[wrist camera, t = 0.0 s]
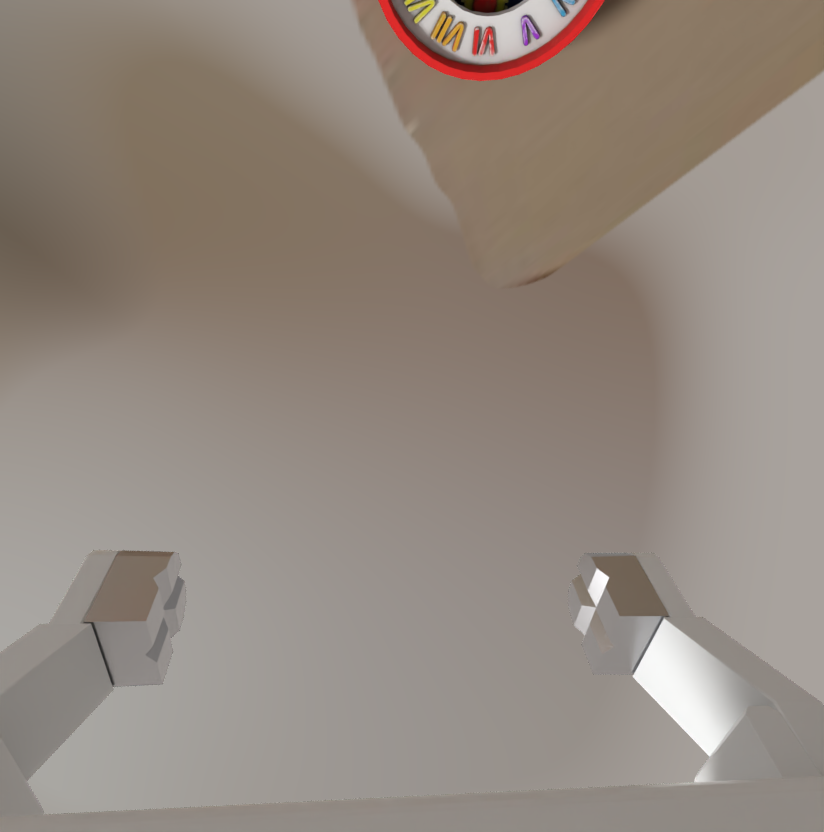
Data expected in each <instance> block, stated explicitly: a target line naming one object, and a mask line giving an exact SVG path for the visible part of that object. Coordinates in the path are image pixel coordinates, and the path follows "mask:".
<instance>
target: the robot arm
mask: <svg viewBox="0 0 824 832" xmlns="http://www.w3.org/2000/svg"><path fill="white" fill-rule="evenodd" d="M577 567H578V569H579V571H580V575H578V576H577V577H576V578H574V579H573V580H572V581H571V584H570V587H569V591H568V606H569V611H570V616H571V618H572V621H573V624H574V626H575V627H576V628H578V629H579V630H580V631H581V632H582V633H583V634H584V635H585V636H584V639H583V642H582V647H583V650H584V652H585V655H586V658H587V660H588V663H589V665H590V668H591V670H592V673H593V674H627V675H628V674H629V675H630V674H632V675H634V676H633V677H634V678H635V680H636V681H637V682H638V683H639V684H640V685H641V686H642V687H643V688H644V689H645V690H646V691H647V692H648V693H649V694H650V695H651V696H652V697H653V698H654V699H655V700H656V701H657V702H658V703H659V705H660V706H661V707H662V708H664V710H665V711H666V712H667V713H668V714H669V715H670V716H671V717H672V718H673V719H674V720H675V721H676V722H677V723H678V724H679V725H680V726H681V727H682V728H683V729H684V730H685V732H687V734H689V736H690V737H691V738H692V739H693V740H694V741H695V742H696V743H697V744H698V745H699V746H700V747H701V748H702V749H703V750H704V751H705V752H706V753H707V754H708V755H709V756H710V757H709V758H708V760H707V761H706V762H705V764H704V765H703V766H702V768H701V769H700V770H699V772H698V773H697V775H696V777H695V779H694V781H695V782H689V783H671V784H670V783H669V784H649V785H631V786H608V787H588V788H569V789H568V788H567V789H547V790H528V791H506V792H485V793H465V794H445V795H424V796H404V797H384V798H366V799H344V800H324V801H307V802H306V801H304V802H284V803H264V804H244V805H224V806H206V807H184V808H165V809H144V810H124V811H104V812H84V813H64V814H44V811H43V809H42V807H41V805H40V803H39V801H38V800H37V798H36V796H35V795H34V793H33V791H32V789H31V788H30V786H29V784H28V783H27V781H28V779H29V778H30V777H31V776H32V775H33V774H34V773H35V772H36V771H37V770H38V769H39V768H40V767H41V766H42V765H43V764H44V763H45V761H47V759H48V758H49V757H50V756H51V755H52V754H53V753H54V752H55V751H56V750H57V749H58V748H59V747H60V746H61V745H62V744H63V743H64V742H65V740H66V739H67V738H68V737H69V736H70V735H71V734H72V733H73V732H74V731H75V730H76V729H77V728H78V727H79V726H80V725H81V724H82V723H83V722H84V720H85V719H86V718H87V717H88V716H89V715H90V714H91V713H92V712H93V711H94V710H95V709H96V708H97V707H98V705H100V704H101V703H102V701H103V700H104V699H105V698H106V697H107V696H108V695H109V694H110V693H111V692H112V691H113V687H121V686H138V685H139V686H140V685H160V684H163V681H164V678H165V675H166V672H167V669H168V666H169V663H170V660H171V657H172V654H173V648H172V644H171V638H172V637H173V636H174V635H175V634H176V633H177V632H178V631H180V628H181V624H182V621H183V618H184V612H185V605H186V587H185V581H184V580H183V579H181V578H180V577H179V576H178V574H179V571H180V568H181V562H180V557H179V553H177V552H161V551H125V550H122V551H112V550H109V551H108V550H93V551H92V552H91V553H90V554H89V555H87V557H86V558H85V559H84V561H83V563H82V565H81V567H80V568H79V570H78V572H77V574H76V576H75V578H74V580H73V581H72V583H71V585H70V586H69V588H68V590H67V592H66V594H65V595H64V598H63V599H62V601H61V603H60V604H59V606H58V608H57V610H56V611H55V613H54V616H53V617H52V619H51V621H50V622H49V624H39V625H38V626H36V627H35V628H33V629H32V630H31V631H30V632H28V633H27V634H25V635H24V636H22V637H21V638H20V639H18V640H17V641H15V642H14V643H13V644H11V645H10V646H8V647H7V648H6V649H4V650H3V651H1V652H0V832H824V705H823V704H822V702H820V701H819V700H817V699H816V698H815V697H813V696H812V695H811V694H809V693H808V692H807V691H805V690H804V689H802V688H801V687H800V686H798V685H797V684H795V683H794V682H793V681H791V680H789V679H788V678H787V677H785V676H784V675H783V674H781V673H780V672H779V671H777V670H776V669H774V668H773V667H772V666H770V665H769V664H768V663H766V662H765V661H763V660H762V659H760V658H759V657H758V656H756V655H755V654H754V653H752V652H751V651H749V650H748V649H747V648H745V647H744V646H742V645H741V644H739V643H738V642H737V641H735V640H734V639H732V638H731V637H730V636H728V635H727V634H726V633H724V632H723V631H722V630H720V629H719V628H717V627H716V626H714V625H713V624H712V623H710V622H709V621H707V620H706V619H705V618H703V617H696V616H695V615H694V613H693V611H692V610H691V608H690V606H689V605H688V603H687V602H686V600H685V599H684V597H683V595H682V594H681V592H680V590H679V589H678V587H677V585H676V584H675V583H674V581H673V579H672V577H671V576H670V574H669V573H668V571H667V569H666V568H665V566H664V564H663V563H662V561H661V560H660V558H659V557H658V556H657V555H656V554H654V553H584V555H582V556H581V557H580V560H579V562H578V565H577ZM43 814H44V815H43Z"/></svg>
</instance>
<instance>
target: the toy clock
mask: <svg viewBox="0 0 824 832" xmlns="http://www.w3.org/2000/svg"><path fill="white" fill-rule="evenodd" d="M378 1H379V3H380V5H381V7H382V10H383V12H384V14H385V17H386V19H387V21H388V23H389V24H390V26H391V27H392V29H393V30H394V32H395V33H396V35H397V36H398V38H399V39H400V40H401V41H402V42H403V44H404V45H405V46H406V47H407V48H408V49H409V50H410V51H411V52H412V53H413V54H414V55H415V56H416V57H418V58H419V59H420V60H422V61H423V62H424V63H426V64H427V65H428V66H430V67H432V68H434V69H436V70H438V71H440V72H442V73H444V74H447V75H450V76H454V77H457V78H461V79H467V80H477V81H486V80H498V79H503V78H507V77H511V76H515V75H518V74H521V73H523V72H526V71H528V70H530V69H533V68H535V67H537V66H539V65H541V64H542V63H544V62H545V61H547V60H548V59H550V58H552V57H553V56H555V55H556V54H557V53H559V52H560V51H561V50H562V49H563V48H565V47H566V46H567V45H568V44H569V43H570V42H572V41H573V40H574V39H575V38H576V37H577V36H578V34H579V33H580V32H581V31H582V30H583V29H584V28H585V27H586V26H587V24H588V23H589V22H590V21H591V19H592V18H593V17H594V15H595V14H596V12H597V11H598V9H599V8H600V6H601V5H602V4H603V2H604V1H605V0H378Z"/></svg>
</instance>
